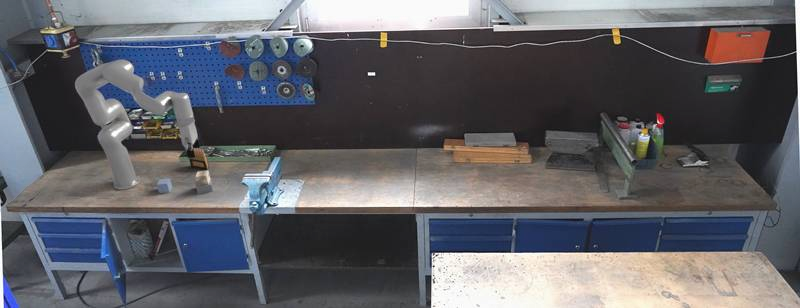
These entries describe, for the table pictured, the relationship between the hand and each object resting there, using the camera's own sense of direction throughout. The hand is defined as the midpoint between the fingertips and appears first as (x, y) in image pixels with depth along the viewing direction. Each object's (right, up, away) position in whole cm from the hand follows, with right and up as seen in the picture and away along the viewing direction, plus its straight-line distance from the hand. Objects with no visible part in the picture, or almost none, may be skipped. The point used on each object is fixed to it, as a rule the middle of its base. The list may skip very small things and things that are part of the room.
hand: (194, 152), depth 260 cm
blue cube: (-18, -18, +10) cm, 28 cm away
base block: (+2, -18, +9) cm, 20 cm away
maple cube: (+2, -14, +8) cm, 16 cm away
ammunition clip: (-7, -8, +29) cm, 31 cm away
